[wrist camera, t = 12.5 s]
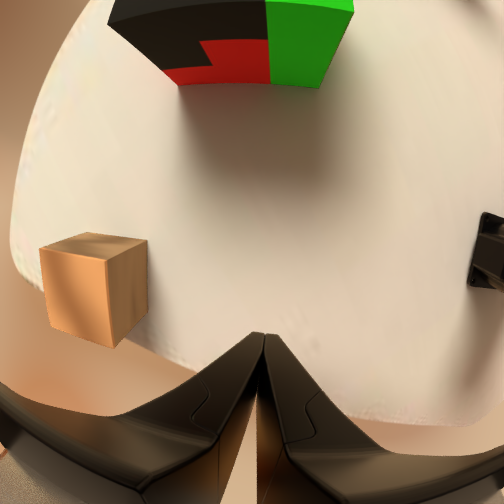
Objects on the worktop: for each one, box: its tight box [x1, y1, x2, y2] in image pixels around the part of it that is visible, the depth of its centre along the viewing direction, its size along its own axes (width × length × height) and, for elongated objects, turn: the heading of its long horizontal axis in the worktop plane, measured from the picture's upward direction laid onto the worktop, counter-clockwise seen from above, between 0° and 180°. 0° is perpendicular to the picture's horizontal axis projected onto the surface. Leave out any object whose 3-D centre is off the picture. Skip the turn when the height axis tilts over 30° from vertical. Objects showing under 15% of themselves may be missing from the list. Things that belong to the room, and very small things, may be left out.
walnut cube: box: [39, 232, 148, 349], centre depth 18 cm, size 6×6×6 cm
